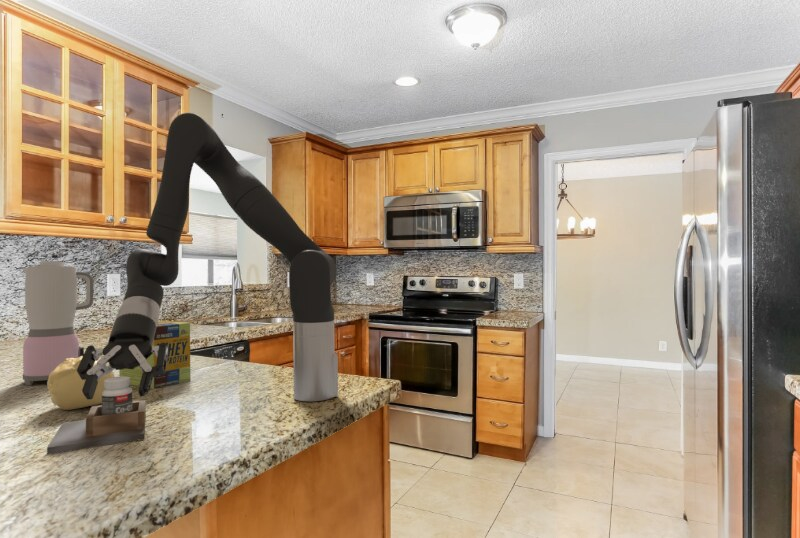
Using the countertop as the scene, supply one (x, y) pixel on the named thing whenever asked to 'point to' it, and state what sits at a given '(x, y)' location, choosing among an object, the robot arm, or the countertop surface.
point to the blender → (52, 317)
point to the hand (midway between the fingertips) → (115, 395)
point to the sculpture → (72, 386)
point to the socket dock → (100, 429)
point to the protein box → (178, 355)
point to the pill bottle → (116, 396)
